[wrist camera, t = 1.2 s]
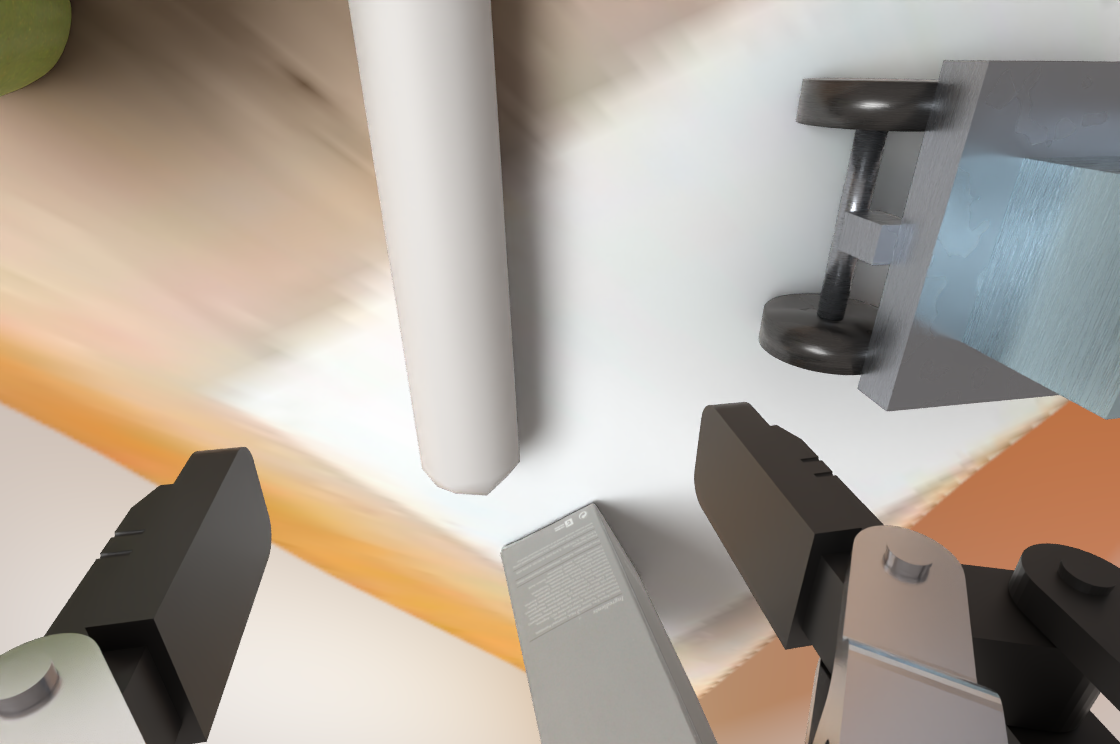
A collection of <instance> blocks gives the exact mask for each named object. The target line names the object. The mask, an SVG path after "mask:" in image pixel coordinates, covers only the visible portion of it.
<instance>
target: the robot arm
mask: <svg viewBox="0 0 1120 744" xmlns="http://www.w3.org/2000/svg"><path fill="white" fill-rule="evenodd" d="M694 483H695V490H696V495H697V498H698V501H699V504H700V506H701V508H702V509H703V511H704V513H705V514H706V516H707V518H708V520H709V521H710V523H711V525H712V526H713V528H714V530H715V531H716V533H717V535H718V536H719V538H720V540H721V542H722V543H723V545H724V547H725V548H726V550H727V552H728V553H729V555H730V557H731V558H732V560H733V562H734V564H735V565H736V567H737V569H738V570H739V572H740V574H741V575H742V577H743V579H744V580H745V582H746V584H747V586H748V587H749V589H750V591H751V592H752V594H753V596H754V597H755V599H756V601H757V602H758V604H759V606H760V608H761V609H762V611H763V613H764V614H765V616H766V618H767V619H768V621H769V623H770V624H771V626H772V628H773V630H774V631H775V633H776V635H777V636H778V638H779V640H780V641H781V643H782V645H783V647H784V648H785V649H792V648H797V647H804V646H810V645H813V647H814V648H815V650H816V652H817V653H818V655H819V656H820V658H819V661H818V665H817V668H816V672H815V679H814V685H813V693H812V698H811V705H810V712H809V718H808V726H807V732H806V738H805V744H1120V742H1119V741H1118V740H1117V739H1116V738H1115V737H1114V736H1113V735H1112V734H1111V732H1109V730H1108V729H1107V728H1106V727H1105V726H1104V725H1103V724H1102V723H1101V722H1100V721H1099V720H1098V719H1097V718H1096V717H1095V715H1094V714H1093V713H1092V712H1091V711H1090V708H1091V707H1092V705H1093V703H1094V702H1095V700H1096V699H1097V697H1098V695H1099V694H1100V692H1101V693H1102V694H1103V695H1104V696H1105V697H1106V698H1107V699H1108V700H1109V701H1110V702H1111V703H1112V704H1113V705H1114V706H1115V707H1116V708H1117V709H1118V710H1119V711H1120V568H1118V567H1117V566H1115V565H1113V564H1112V563H1110V562H1108V561H1106V560H1104V559H1102V558H1100V557H1097V556H1096V555H1093V554H1091V553H1088V552H1085V551H1083V550H1080V549H1077V548H1073V547H1069V546H1064V545H1059V544H1036V545H1033V546H1030V547H1028V548H1027V549H1025V550H1024V552H1023V553H1022V555H1021V557H1020V560H1019V562H1018V564H1017V566H1016V568H1015V570H1005V569H997V568H989V567H980V566H972V565H963V564H960V563H959V561H958V560H957V559H956V558H955V556H954V555H952V553H951V552H949V551H948V550H947V549H946V548H945V547H943V546H942V545H940V544H939V543H937V542H936V541H934V540H933V539H931V538H929V537H927V536H925V535H923V534H920V533H918V532H915V531H912V530H909V529H906V528H901V527H896V526H884V525H883V524H882V523H881V522H880V521H879V520H878V518H877V517H876V516H875V515H874V514H873V513H872V512H871V511H870V510H869V509H868V508H867V507H866V506H865V505H864V504H863V503H862V502H861V501H860V500H859V499H858V498H857V497H856V496H855V495H854V493H853V492H852V491H851V490H850V489H849V488H848V487H847V486H846V485H845V484H844V483H843V482H842V481H841V480H840V479H839V478H838V477H837V476H836V475H834V476H833V474H832V471H831V469H830V468H829V467H828V466H827V465H826V464H825V463H824V462H823V461H822V460H821V461H819V459H818V456H817V455H816V454H815V453H814V452H813V451H812V450H811V449H810V448H809V447H808V446H807V444H806V443H805V442H804V441H803V440H802V439H800V438H798V437H797V436H795V435H793V434H791V433H790V432H788V431H786V430H784V429H783V428H781V427H779V426H777V425H774V426H770V425H769V424H768V423H767V422H766V421H765V420H764V419H763V418H762V417H761V416H760V414H759V413H758V412H757V411H756V410H755V409H754V408H753V407H752V406H751V405H750V404H749V403H747V402H739V403H728V404H718V405H708V406H706V407H705V409H704V411H703V413H702V418H701V425H700V433H699V441H698V449H697V456H696V464H695V473H694ZM270 549H271V524H270V519H269V515H268V511H267V507H266V504H265V500H264V497H263V493H262V489H261V486H260V482H259V479H258V475H257V471H256V468H255V464H254V460H253V457H252V455H251V453H250V451H249V450H248V449H247V448H246V447H238V448H227V449H216V450H205V451H196V452H194V453H193V454H192V455H191V457H190V458H189V460H188V461H187V463H186V465H185V466H184V468H183V469H182V471H181V473H180V474H179V476H178V477H177V479H176V481H175V482H174V484H168V485H160V486H158V487H157V488H156V489H155V490H153V491H152V492H151V493H150V494H148V495H147V496H146V497H145V498H143V499H142V500H141V501H139V502H138V503H137V504H136V505H135V506H133V507H132V508H131V509H130V511H129V512H128V514H127V515H126V517H125V518H124V520H123V521H122V522H121V524H120V525H119V527H118V528H117V530H116V531H115V537H113V538H111V539H110V540H109V542H108V543H107V544H106V546H105V547H104V549H103V550H102V552H101V553H100V554H101V557H100V559H96V561H95V562H94V564H93V565H92V566H91V568H90V570H89V571H88V572H87V574H86V575H85V577H84V578H83V580H82V581H81V583H80V584H79V586H78V587H77V589H76V590H75V592H74V593H73V594H72V596H71V597H70V599H69V600H68V602H67V603H66V605H65V606H64V608H63V609H62V611H61V612H60V614H59V615H58V616H57V618H56V619H55V621H54V622H53V624H52V625H51V627H50V628H49V630H48V631H47V633H46V634H45V636H44V637H41V638H38V639H35V640H32V641H29V642H26V643H24V644H22V645H20V646H17V647H15V648H13V649H11V650H9V651H8V652H6V653H4V654H2V655H0V744H195V743H201V742H207V739H208V736H209V732H210V730H211V727H212V724H213V721H214V718H215V715H216V712H217V709H218V706H219V703H220V700H221V697H222V694H223V691H224V688H225V685H226V682H227V679H228V676H229V673H230V670H231V667H232V665H233V662H234V659H235V656H236V653H237V650H238V647H239V644H240V640H241V637H242V635H243V632H244V629H245V626H246V623H247V620H248V617H249V614H250V611H251V608H252V605H253V602H254V599H255V596H256V593H257V591H258V587H259V585H260V582H261V579H262V576H263V573H264V569H265V567H266V564H267V561H268V558H269V554H270Z"/></svg>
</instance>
